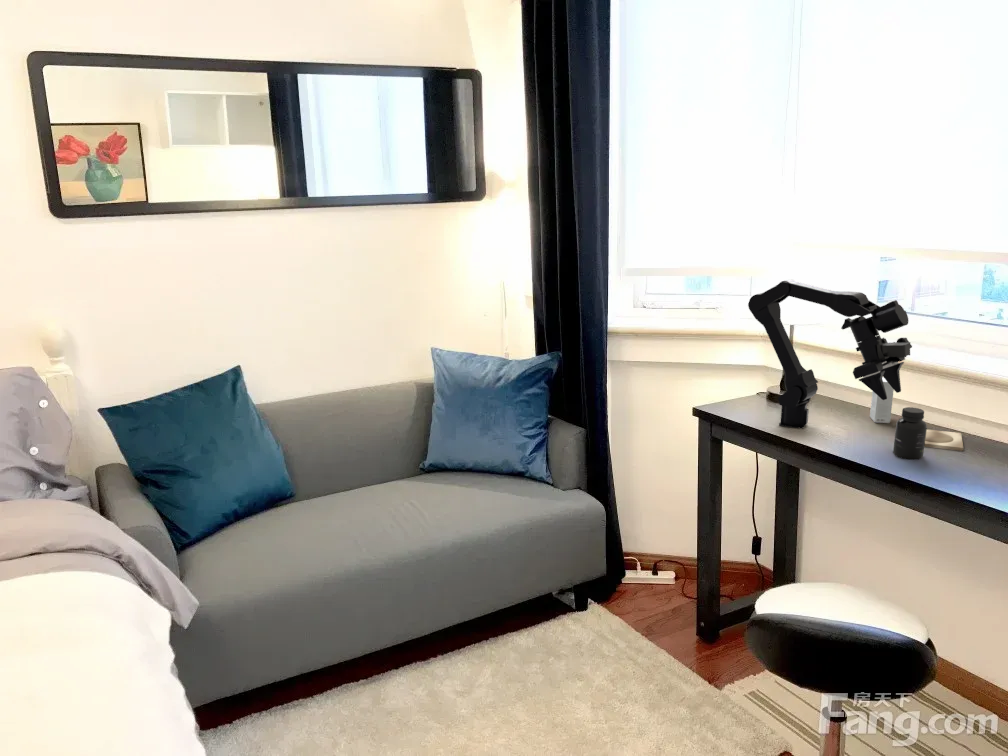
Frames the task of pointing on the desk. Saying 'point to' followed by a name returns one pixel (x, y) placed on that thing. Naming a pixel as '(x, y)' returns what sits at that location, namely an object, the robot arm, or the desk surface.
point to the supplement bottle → (910, 434)
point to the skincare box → (882, 405)
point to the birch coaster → (944, 440)
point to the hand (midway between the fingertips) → (892, 395)
